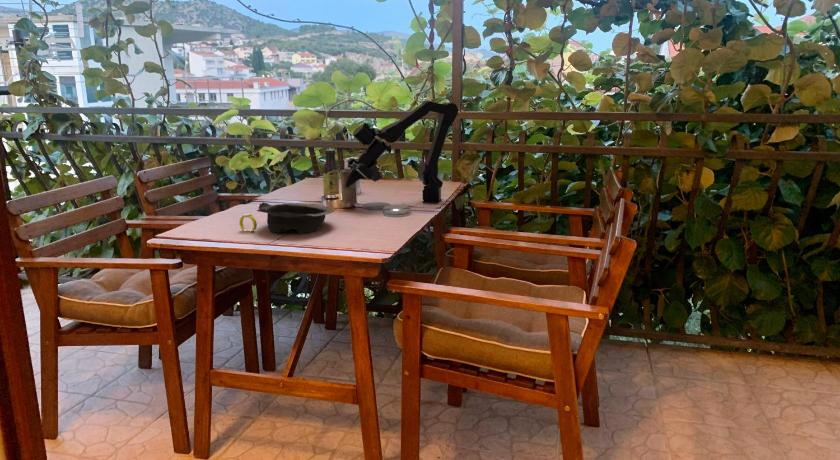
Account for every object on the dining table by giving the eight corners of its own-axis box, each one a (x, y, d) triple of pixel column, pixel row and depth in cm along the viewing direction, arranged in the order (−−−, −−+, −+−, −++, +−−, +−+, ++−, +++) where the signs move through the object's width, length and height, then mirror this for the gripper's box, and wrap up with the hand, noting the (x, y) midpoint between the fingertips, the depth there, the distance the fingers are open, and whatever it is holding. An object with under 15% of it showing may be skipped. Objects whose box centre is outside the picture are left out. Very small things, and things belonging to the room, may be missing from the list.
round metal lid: (414, 212, 223) (414, 205, 222) (405, 218, 214) (405, 211, 213) (388, 210, 226) (388, 204, 225) (379, 216, 217) (378, 210, 216)
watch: (239, 232, 198) (236, 215, 197) (244, 230, 201) (242, 213, 199) (253, 233, 196) (251, 215, 194) (259, 230, 198) (256, 213, 197)
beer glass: (361, 195, 252) (359, 159, 248) (344, 195, 252) (343, 159, 248) (363, 191, 258) (361, 157, 255) (347, 191, 259) (345, 157, 255)
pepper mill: (354, 200, 229) (352, 166, 226) (356, 202, 225) (355, 168, 222) (342, 201, 228) (340, 167, 224) (344, 203, 224) (343, 169, 220)
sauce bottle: (331, 200, 242) (329, 151, 237) (320, 198, 246) (318, 150, 241) (343, 197, 247) (340, 149, 242) (332, 195, 251) (329, 148, 246)
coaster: (394, 204, 234) (394, 203, 234) (384, 210, 224) (384, 209, 224) (368, 202, 237) (368, 201, 237) (357, 209, 227) (357, 207, 227)
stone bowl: (247, 237, 191) (245, 208, 189) (276, 223, 215) (275, 197, 213) (323, 238, 187) (321, 208, 185) (343, 223, 212) (342, 197, 210)
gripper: (394, 171, 220) (366, 203, 219) (380, 164, 237) (354, 193, 236) (372, 151, 215) (344, 184, 215) (360, 145, 232) (333, 175, 232)
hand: (344, 185), depth 224 cm, fingers closed on pepper mill, 5 cm apart
